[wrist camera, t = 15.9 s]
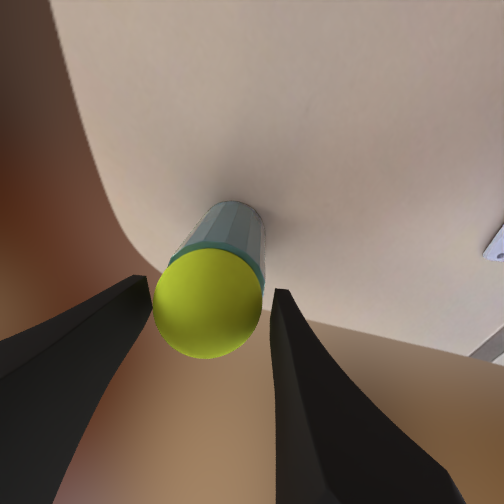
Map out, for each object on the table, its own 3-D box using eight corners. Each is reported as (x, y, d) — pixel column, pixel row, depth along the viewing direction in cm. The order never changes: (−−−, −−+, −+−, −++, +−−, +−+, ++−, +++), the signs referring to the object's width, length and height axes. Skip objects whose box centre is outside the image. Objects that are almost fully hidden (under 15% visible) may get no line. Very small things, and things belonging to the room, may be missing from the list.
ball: (267, 236, 11) (269, 302, 7) (258, 306, 13) (255, 389, 9) (173, 227, 11) (113, 287, 7) (181, 299, 13) (141, 377, 9)
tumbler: (268, 204, 16) (270, 246, 10) (261, 261, 18) (259, 324, 12) (200, 197, 16) (159, 236, 10) (202, 256, 18) (171, 316, 12)
